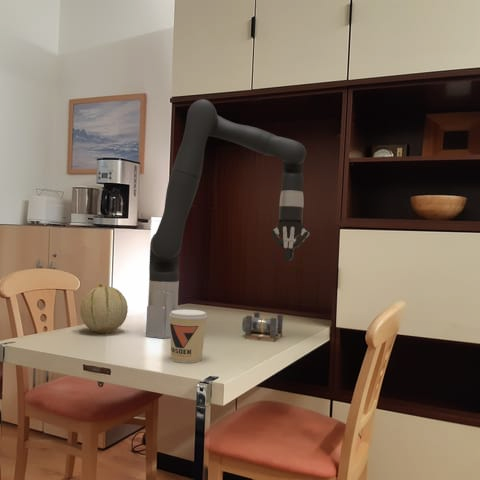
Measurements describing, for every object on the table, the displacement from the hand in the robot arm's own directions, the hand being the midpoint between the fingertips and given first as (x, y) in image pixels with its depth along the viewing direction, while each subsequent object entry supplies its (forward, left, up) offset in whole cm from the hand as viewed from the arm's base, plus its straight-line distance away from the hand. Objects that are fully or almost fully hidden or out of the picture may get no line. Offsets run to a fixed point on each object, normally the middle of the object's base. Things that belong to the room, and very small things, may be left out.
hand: (288, 260), depth 155 cm
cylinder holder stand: (0, +7, -25) cm, 26 cm away
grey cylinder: (0, +8, -24) cm, 25 cm away
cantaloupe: (-19, +54, -26) cm, 63 cm away
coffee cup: (-38, +16, -26) cm, 49 cm away
